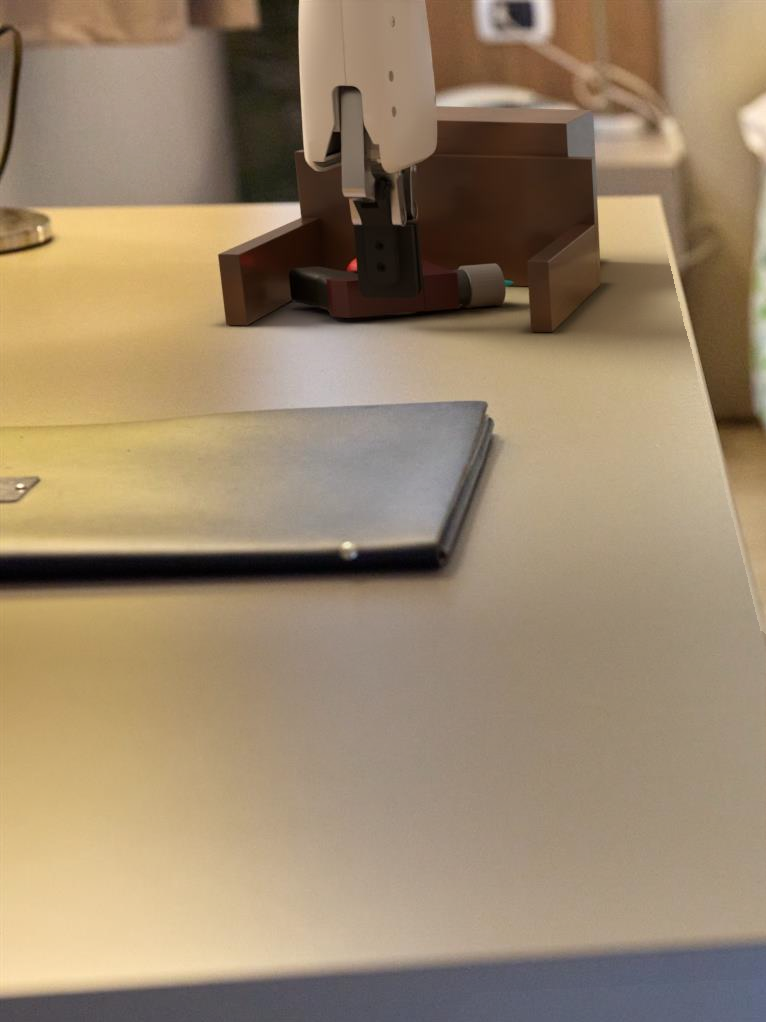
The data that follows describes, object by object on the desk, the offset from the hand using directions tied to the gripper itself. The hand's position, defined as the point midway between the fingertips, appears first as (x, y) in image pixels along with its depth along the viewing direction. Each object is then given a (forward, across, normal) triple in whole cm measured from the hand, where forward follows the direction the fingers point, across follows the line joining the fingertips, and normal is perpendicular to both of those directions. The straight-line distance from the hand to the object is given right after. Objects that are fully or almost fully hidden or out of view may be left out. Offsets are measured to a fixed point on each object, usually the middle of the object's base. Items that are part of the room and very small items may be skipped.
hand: (392, 294), depth 111 cm
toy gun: (+2, -7, -2) cm, 7 cm away
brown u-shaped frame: (+2, -12, 0) cm, 12 cm away
